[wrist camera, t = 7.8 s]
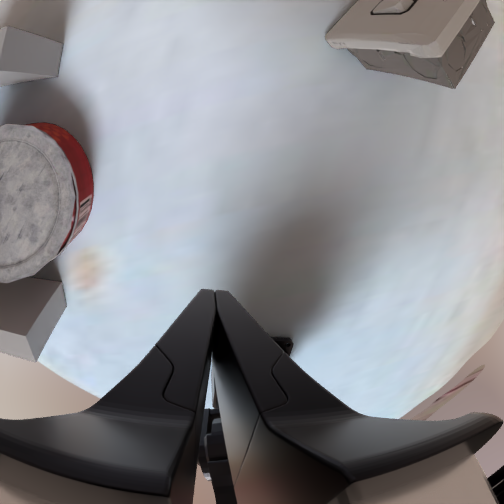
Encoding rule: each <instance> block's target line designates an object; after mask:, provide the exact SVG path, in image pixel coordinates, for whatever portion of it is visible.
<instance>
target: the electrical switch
mask: <svg viewBox="0 0 504 504" xmlns="http://www.w3.org/2000/svg"><path fill="white" fill-rule="evenodd" d="M471 18H472V19H473V21H474V23H475V25H473V24H472V19H471ZM494 23H495V22H494V20H493V18H492V16H491V13H490V11H489V9H488V7H487V3H486V0H358V1H357V2H356V3H355V4H354V5H353V6H352V7H351V8H350V9H349V10H348V11H347V12H346V13H345V15H344V16H343V17H342V18H341V19H340V20H339V21H338V22H337V23H336V24H335V25H334V26H333V27H332V29H331V30H330V31H329V32H328V33H327V34H326V36H325V39H326V41H327V42H328V43H329V44H330V46H331V47H332V48H335V49H344V48H347V49H348V50H349V51H350V53H352V54H353V55H354V56H356V57H357V58H358V60H359V61H360V62H361V63H362V64H363V65H364V67H365V68H366V69H370V70H376V71H382V72H387V73H392V74H397V75H402V76H406V77H411V78H415V79H419V80H423V81H427V82H431V83H435V84H438V85H442V86H445V87H448V88H452V87H453V88H456V86H457V85H458V83H459V82H460V80H461V79H462V77H463V75H464V74H465V72H466V71H467V69H468V67H469V66H470V64H471V62H472V61H473V59H474V58H475V56H476V54H477V53H478V51H479V49H480V47H481V46H482V44H483V42H484V41H485V39H486V37H487V35H488V34H489V32H490V30H491V28H492V26H493V25H494ZM487 24H488V25H487ZM481 30H482V31H481ZM381 55H382V56H383V57H384V58H383V57H382V56H381ZM384 59H385V60H384ZM462 67H463V68H462ZM449 80H450V81H449ZM450 82H451V83H450ZM451 84H452V86H451ZM453 88H452V89H453Z"/></svg>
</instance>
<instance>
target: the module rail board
mask: <svg viewBox="0 0 504 504" xmlns="http://www.w3.org/2000/svg"><path fill="white" fill-rule="evenodd" d="M62 49H63V44H62V43H59V42H56V41H54V40H51V39H48V38H45V37H42V36H39V35H36V34H33V33H30V32H27V31H23V30H20V29H17V28H13V27H10V26H6V27H3V28H0V87H2V86H7V85H12V84H17V83H22V82H27V81H33V80H39V79H46V78H54V77H58V71H59V65H60V59H61V54H62ZM66 307H67V306H66V301H65V296H64V291H63V285H62V282H59V281H52V280H45V279H38V278H32V277H25V278H22V279H19V280H16V281H13V282H10V283H1V282H0V352H2V353H6V354H8V355H12V356H15V357H18V358H22V359H26V360H29V361H33V362H37V360H38V358H39V356H40V354H41V352H42V350H43V348H44V346H45V344H46V342H47V340H48V338H49V337H50V335H51V333H52V331H53V329H54V328H55V326H56V324H57V322H58V320H59V319H60V317H61V315H62V314H63V312H64V310H65V308H66Z"/></svg>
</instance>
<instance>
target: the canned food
mask: <svg viewBox="0 0 504 504" xmlns="http://www.w3.org/2000/svg"><path fill="white" fill-rule="evenodd" d="M93 197H94V183H93V177H92V171H91V167H90V164H89V161H88V158H87V156H86V154H85V152H84V150H83V149H82V147H81V145H80V144H79V143H78V142H77V140H76V139H75V138H74V137H73V136H72V135H71V134H70V133H69V132H67V131H66V130H65V129H63V128H61V127H59V126H57V125H55V124H50V123H44V122H43V123H33V124H26V125H16V124H4V125H2V126H0V282H1V283H10V282H13V281H16V280H19V279H22V278H25V277H29V276H32V275H35V274H36V273H37V272H38V271H39V270H40V269H41V268H42V267H44V266H45V265H46V264H47V263H48V262H50V261H51V260H53V259H54V258H56V257H57V256H59V255H60V254H61V253H62V252H63V251H64V249H65V248H66V247H67V246H68V244H69V243H70V242H71V241H72V240H73V239H74V238H75V237H76V236H77V235H78V234H79V233H80V231H81V230H82V229H83V227H84V225H85V224H86V222H87V220H88V217H89V215H90V212H91V209H92V203H93Z"/></svg>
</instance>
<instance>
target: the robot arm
mask: <svg viewBox="0 0 504 504" xmlns="http://www.w3.org/2000/svg"><path fill="white" fill-rule="evenodd" d="M287 343H288V344H287ZM292 347H293V341H292V339H290V338H271V337H270V336H269V335H268V334H267V333H266V332H265V331H264V329H263V328H262V327H261V326H260V325H259V324H258V323H257V322H256V321H255V320H254V319H253V318H252V317H251V315H250V314H249V313H248V312H247V311H246V310H245V309H244V308H243V307H242V306H241V304H240V303H239V302H238V301H237V300H236V299H235V298H234V297H233V296H232V295H231V293H230V292H229V291H223V290H216V291H215V292H214V290H209V289H201V290H200V291H199V292H198V293H197V295H196V296H195V297H194V298H193V299H192V301H191V302H190V303H189V304H188V305H187V307H186V308H185V309H184V310H183V312H182V313H181V314H180V315H179V316H178V318H177V319H176V320H175V321H174V322H173V324H172V325H171V326H170V327H169V329H168V330H167V331H166V332H165V333H164V335H163V336H162V337H161V338H160V340H159V341H158V342H157V343H156V344H155V346H154V347H153V348H152V349H151V350H150V352H149V353H148V354H147V355H146V356H145V357H144V359H143V360H142V361H141V362H140V363H139V364H138V365H137V366H136V367H135V368H134V369H133V370H132V371H131V372H130V373H129V374H128V375H127V376H126V377H125V378H123V379H122V380H121V381H120V382H119V383H118V384H117V385H116V386H115V387H114V388H112V389H111V390H110V391H109V392H108V393H107V394H106V395H105V396H104V397H102V398H101V399H100V400H99V401H98V402H97V403H95V404H94V405H93V406H91V407H90V408H88V409H86V410H84V411H81V412H78V413H72V414H66V415H59V416H51V417H43V418H34V419H24V420H8V419H0V504H193V495H194V485H195V477H196V469H197V464H198V465H199V466H201V469H202V472H203V474H204V476H205V478H206V479H207V480H208V481H212V485H213V489H214V493H215V498H216V504H504V466H502V467H501V468H500V469H499V470H497V471H496V472H495V473H494V474H492V475H491V476H490V477H489V478H487V477H486V475H485V473H484V472H483V469H482V468H481V466H480V464H479V462H478V460H477V459H476V457H475V455H474V454H475V453H476V452H477V451H478V450H479V449H480V448H481V447H482V446H483V445H485V443H487V442H488V441H489V440H490V439H491V438H492V437H493V435H494V434H496V432H497V431H498V430H499V429H500V427H501V426H502V424H503V420H501V419H500V418H499V417H497V416H495V415H492V414H487V413H477V412H473V413H469V414H467V415H464V416H462V417H459V418H456V419H451V420H442V421H421V420H403V419H389V418H379V417H370V416H366V415H363V414H360V413H358V412H356V411H354V410H352V409H351V408H350V407H348V406H347V405H345V404H344V403H343V402H342V401H340V400H339V399H338V398H336V397H335V396H334V395H333V394H331V393H330V392H329V391H328V390H326V389H325V388H324V387H322V386H321V385H320V384H319V383H317V382H316V381H315V380H314V379H313V378H312V377H310V376H309V375H308V374H307V373H306V372H305V371H303V370H302V369H301V368H300V367H299V366H298V365H297V364H296V363H295V362H294V361H293V360H292V359H291V358H290V357H289V356H290V353H291V350H292ZM211 356H212V372H211V381H212V405H213V407H214V408H215V409H210V408H209V409H204V408H205V401H206V393H207V386H208V379H209V372H210V365H211Z"/></svg>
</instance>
